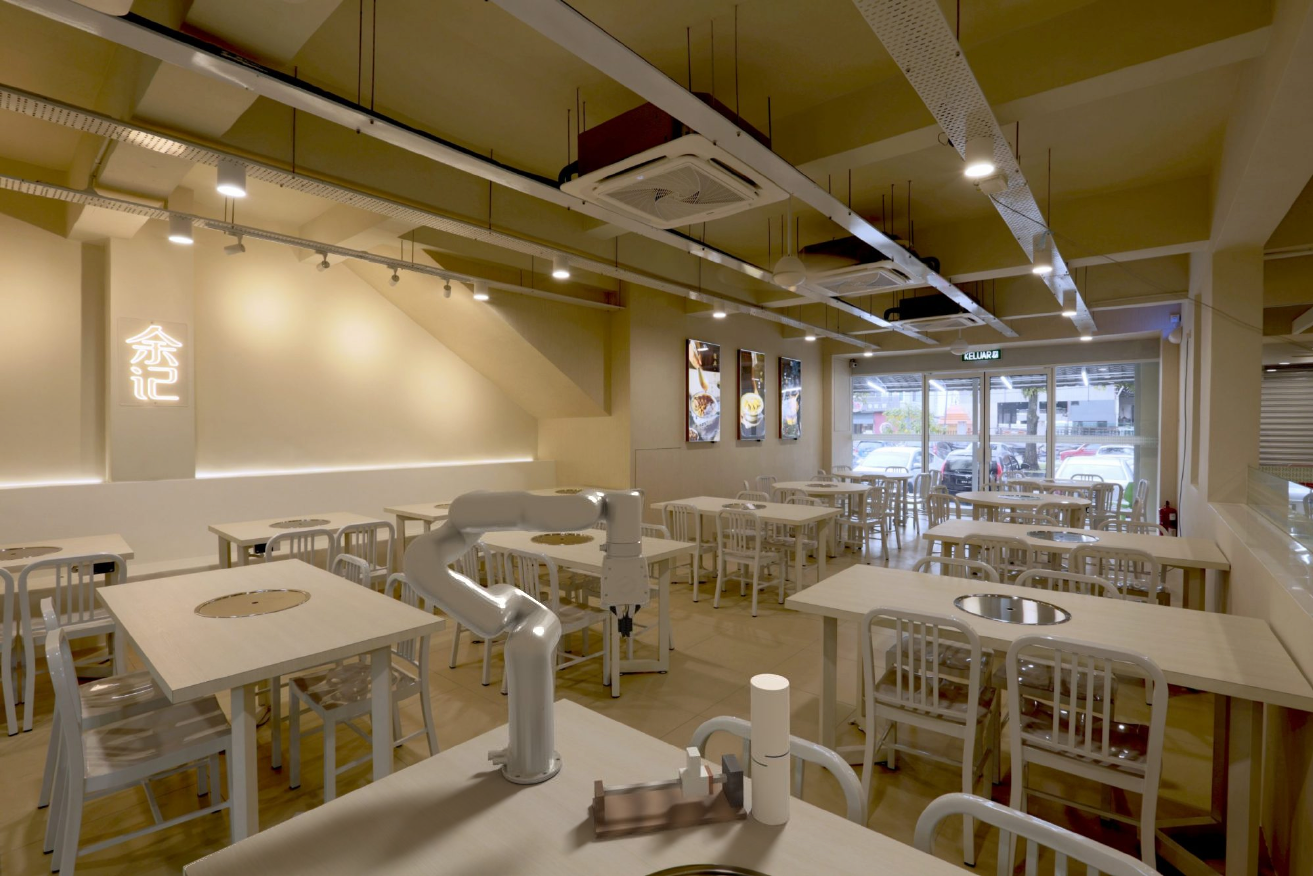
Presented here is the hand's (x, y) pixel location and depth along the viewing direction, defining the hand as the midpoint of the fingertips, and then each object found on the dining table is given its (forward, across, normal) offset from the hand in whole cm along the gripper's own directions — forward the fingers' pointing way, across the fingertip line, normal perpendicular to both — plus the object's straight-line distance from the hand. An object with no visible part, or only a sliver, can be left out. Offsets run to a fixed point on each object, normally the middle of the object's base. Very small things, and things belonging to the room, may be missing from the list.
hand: (625, 635), depth 128 cm
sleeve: (+26, +11, -15) cm, 32 cm away
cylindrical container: (+29, +25, -19) cm, 43 cm away
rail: (+29, +6, -15) cm, 33 cm away
